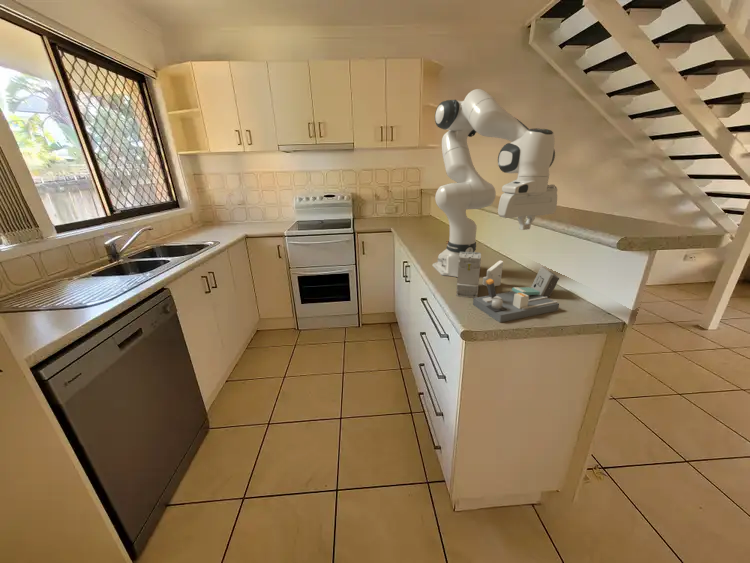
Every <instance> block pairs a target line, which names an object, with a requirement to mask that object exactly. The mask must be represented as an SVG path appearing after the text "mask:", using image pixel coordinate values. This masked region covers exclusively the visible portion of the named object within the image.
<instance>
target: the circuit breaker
mask: <svg viewBox="0 0 750 563" xmlns="http://www.w3.org/2000/svg"><path fill="white" fill-rule="evenodd" d="M481 259H482V253H481V252H476V251H475V252H460V254H459V264H458V277H457V282H456V295H455V296H456V297H462V298H463V297H464V298H477V297H478V294H479V283H480V271H481V261H482V260H481Z"/></svg>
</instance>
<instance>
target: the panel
mask: <svg viewBox="0 0 750 563" xmlns="http://www.w3.org/2000/svg"><path fill="white" fill-rule="evenodd" d="M514 294H517V293H516V292H514V291H512V290H511V291H506V292H501V293H496V296H495V297H494V298H491V297H489V295H485V296H479V297H478V296H477V298H473V297H472V298H473V301H472V305H473V306H474V307H475V308H477V309H478V310H480V311H482V312H483V313H484V314H486V315H488V316H489V317H491V318H492V319H494V320H495V321H497V322H498V323H504V322H508V321H514V320H517V319H522V318H528V316H529V317H533V316H539V315H544V314H547V313H551V312H552V313H553V312H556V311H559V306H560V303H559V302H558V301H557V300H553V299H551V298H549V297H547V296H542V295H540V294H539V295H528V296H529V299H528V306H527V307H523V308H521V309H519V308H517V307H515V306H514V305H513V301H514ZM495 298H497V299H501V300H503V304H502V309H493V308H492V307H491V305H492V299H495Z"/></svg>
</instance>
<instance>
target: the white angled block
mask: <svg viewBox="0 0 750 563" xmlns="http://www.w3.org/2000/svg"><path fill="white" fill-rule="evenodd" d="M503 264H504V261H503V260H501V259H500V260H497V262H496V263H494V264H493V265H492V266H491V267H489V268H488V269H487V270H486V276H483V277H482V285H484V286H485V287H487V283H486V280H488V279H492V280H494V287H497V286H501V284H502V274H503Z"/></svg>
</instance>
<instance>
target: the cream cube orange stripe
mask: <svg viewBox="0 0 750 563" xmlns="http://www.w3.org/2000/svg"><path fill="white" fill-rule="evenodd" d="M528 299H529V296H528V295H526V294H524V293H517V294H514V301H513V305H514V306H515V307H517V308H519V309H521V308H523V307H527V306H528Z"/></svg>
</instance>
